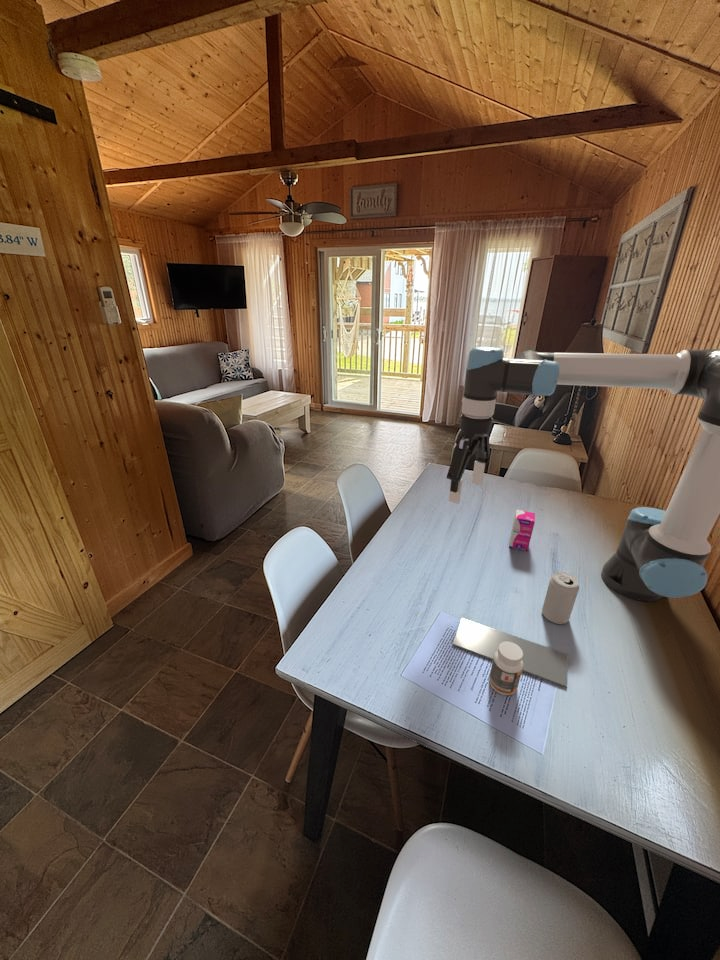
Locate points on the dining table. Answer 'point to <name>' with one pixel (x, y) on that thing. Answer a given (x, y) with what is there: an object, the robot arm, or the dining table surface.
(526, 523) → the supplement box
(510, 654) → the pill bottle
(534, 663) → the slate board
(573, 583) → the beverage can
